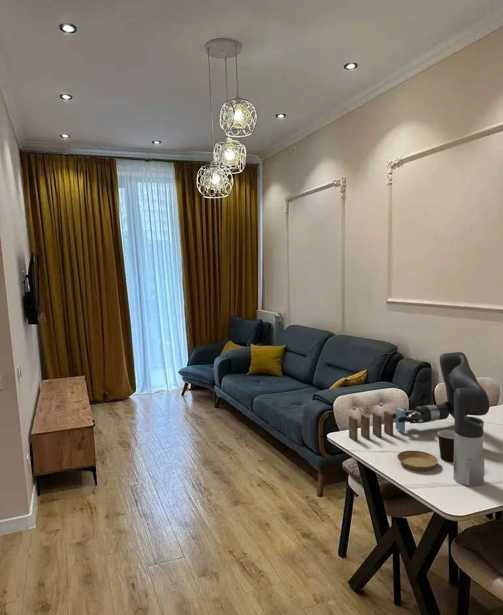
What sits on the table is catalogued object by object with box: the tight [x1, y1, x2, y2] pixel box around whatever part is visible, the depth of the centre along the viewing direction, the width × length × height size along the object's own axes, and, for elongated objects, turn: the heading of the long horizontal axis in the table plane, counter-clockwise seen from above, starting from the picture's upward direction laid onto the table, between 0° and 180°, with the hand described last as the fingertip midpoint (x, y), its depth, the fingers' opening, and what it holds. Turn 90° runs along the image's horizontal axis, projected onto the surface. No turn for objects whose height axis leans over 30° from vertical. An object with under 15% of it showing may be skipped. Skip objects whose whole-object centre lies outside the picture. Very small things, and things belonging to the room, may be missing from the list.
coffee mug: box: [437, 430, 454, 463], centre depth 178 cm, size 12×9×10 cm
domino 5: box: [395, 407, 406, 433], centre depth 206 cm, size 2×5×10 cm, turn 16°
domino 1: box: [348, 415, 359, 442], centre depth 200 cm, size 2×5×10 cm, turn 16°
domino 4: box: [383, 410, 394, 437], centre depth 205 cm, size 2×5×10 cm, turn 16°
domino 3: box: [372, 412, 383, 438], centre depth 203 cm, size 2×5×10 cm, turn 16°
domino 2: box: [360, 413, 371, 440], centre depth 201 cm, size 2×5×10 cm, turn 16°
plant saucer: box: [397, 449, 438, 471], centre depth 174 cm, size 15×15×3 cm
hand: (395, 418), depth 205 cm, fingers closed on domino 5, 5 cm apart
